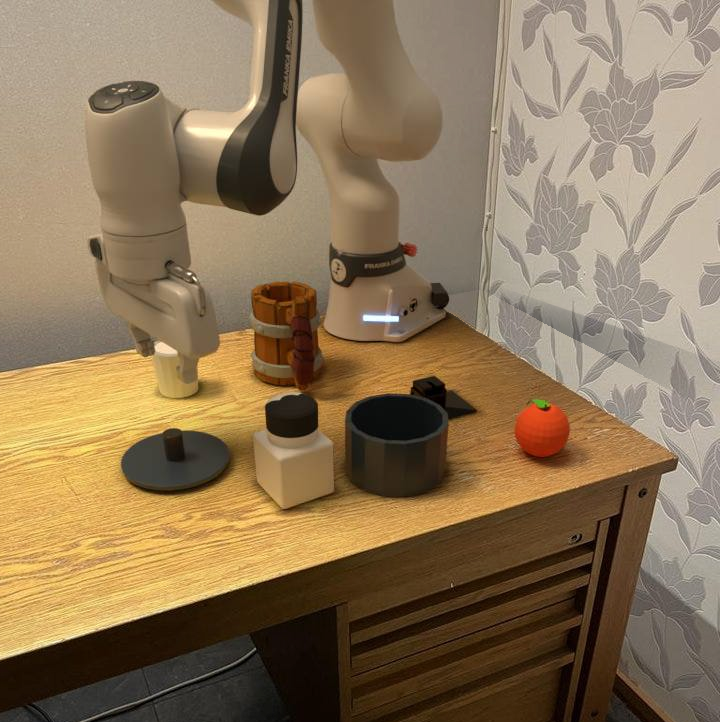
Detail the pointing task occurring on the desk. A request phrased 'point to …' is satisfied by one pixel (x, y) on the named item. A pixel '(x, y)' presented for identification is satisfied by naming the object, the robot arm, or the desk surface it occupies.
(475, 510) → the desk surface
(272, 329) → the mug
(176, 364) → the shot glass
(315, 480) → the medicine bottle
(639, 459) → the desk surface
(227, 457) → the pot lid
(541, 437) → the clementine
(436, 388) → the black wedge
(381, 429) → the enamel pot
